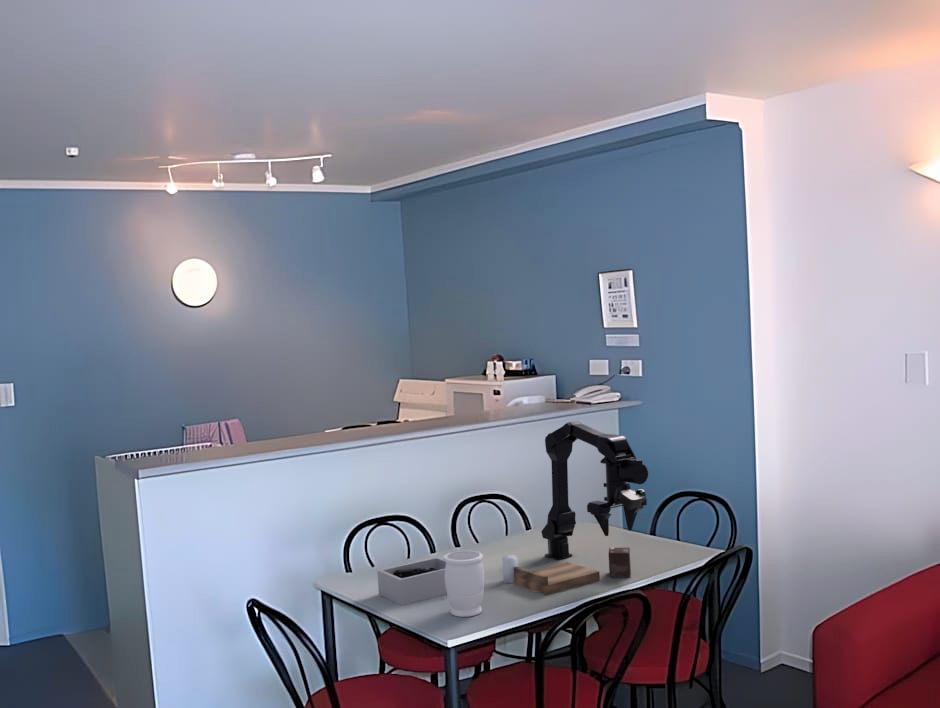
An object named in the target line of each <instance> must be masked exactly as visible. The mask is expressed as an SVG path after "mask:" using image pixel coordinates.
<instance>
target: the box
mask: <svg viewBox="0 0 940 708" xmlns="http://www.w3.org/2000/svg"><path fill="white" fill-rule="evenodd" d="M630 551H631V549H630V547H609V548H608V568H609V569H608V571H609V573H608V574H609V577H610V578H631V575H632V569H631V566H632V565H631V552H630Z"/></svg>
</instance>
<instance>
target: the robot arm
mask: <svg viewBox="0 0 940 708" xmlns="http://www.w3.org/2000/svg"><path fill="white" fill-rule="evenodd" d="M544 438H545V439H544V445H545V452H546V454H547V455H548V457H549V458H550V459H549V460H550V461H551V489H552V490H551V492H552V495H551V496H552V505H551V508H550V510H549V511H548V515H547V521H546V524H545V526H544V527H543V529H542V530H541V531H540V532H541V535H542V539H545V540H547V551H548V552H547V553H544V557H547V558H550V559H553V560H554V559H555V560H561V559H566V558H569V557H573V554H572V553H570V549H569V546H570V545H569V538H568V537H572V536H573V534H574V530H575V527H576V525H577V521H576V514H577V513H576V512H575V511H573V510H572V509H571V507H570V505H569V474H568V472H569V471H568V468H569V467H568V460H569V458H570V456H571V454H572V452H573V445H574V443H575V442H576V441H577V440H580V441H582V442H585V443H586V444H588V445H590V446H592V447H595V448H596V449H597V451H598V453H599V454H601V455H602V456H604V457H603V458H602V459H601V460H600V464H604V465H605V480H606V481H605V482H604V483H602V484H603V487H604V488H606V496H604V497H603V500H593V501H589V502H588V503H587V504H586V511H587V513H590V515H592V516H594V518H595V519H596V521H597V523H598V525H599V526H600V529H601V531H602V532H603V535H604V536H605V537H609V533H610V532H609V530H610V527H609V525H610V523H609V520H610V517H611V516H612V513H610V512H611V510H612V509H614V508H620V507H622V508H623V512H624V517H625V523H626V527H627V530H628V531H630V532H631V531H633V527H634V524H635V520H636V517H637V515H638V512H640V511H641V510H642V509H644V508H645V507H644V506H647V505H648V504H647V503H648V501H647V497H646V491H645V490H644V489H642V488H641V489H637V490H632V489H631V485H630V483H631V484H636V485H642V484H645V483H646V482H647V479H648V476H649V470H648V468H647V466H646V465H645V464H643V460H642V459H638V458H637V457H636V455H635V453H634V451H633V449H632V447H631V445H630V444H629V442H628V439H627V438H626V437H625V436H624V435H620V434H612V433H611V434H609V433H604V432H602V431H600V430H597V429H594V428H592V427H590V426H588V425H587V424H586V425H585V424H583V423H582V422H580V421H579V420H578V421H577V420H576V421H569V422H566V423H565V424H564V425H562V426H561V427H559V428H557V429H555V430H554V431H552V432H550V433H548V434H547V435H546V436H545V437H544Z"/></svg>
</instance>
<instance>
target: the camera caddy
mask: <svg viewBox="0 0 940 708" xmlns="http://www.w3.org/2000/svg"><path fill="white" fill-rule="evenodd" d="M445 566H446V562H445V561H444V558H441V557H439V556H434V557H431V558H425V559H422V560H417V561H413V562H409V563H405V564H399V565H395V566H390V567H386V568H382V569H377V570H376V571H377V586H378V588H377V589H378V595H379V596H380V597H382V598H385V599H387V600H389V601H391V602H392V603H395V604H398V605H399V606H401V607H403V606H406V605H409V604H414V603H417V602H422V601H427V600H429V599H430V600H431V599H433V598H437V597H441V596H446V595H447V590H446V586H445ZM415 568H421V569H423V568H425V569H426V570H429V568H434V569H440V570H436V571H432V572H428V573H423V574H419V575H415V576H410V577H406V578H399V577H397V576H394V575H393V573H394V572H395V571H396V570H404V569H415Z"/></svg>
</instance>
